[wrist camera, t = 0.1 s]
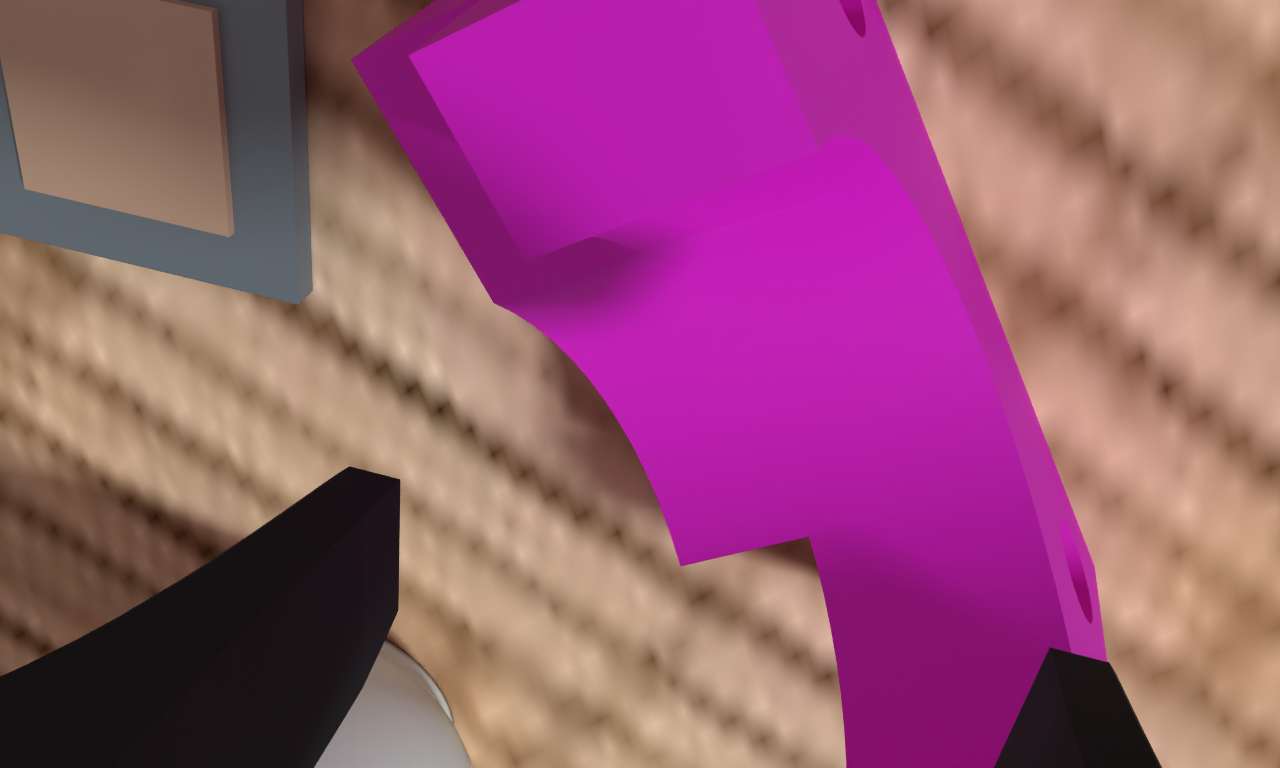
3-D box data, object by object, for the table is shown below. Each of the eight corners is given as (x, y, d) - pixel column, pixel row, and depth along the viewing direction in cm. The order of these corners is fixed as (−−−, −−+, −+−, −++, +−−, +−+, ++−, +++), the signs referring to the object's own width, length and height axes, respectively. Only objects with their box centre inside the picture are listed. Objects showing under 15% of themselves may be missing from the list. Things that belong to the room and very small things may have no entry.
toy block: (464, -21, 20) (242, 137, 14) (803, -194, 18) (714, -95, 11) (802, 618, 26) (751, 925, 20) (1093, 559, 24) (1137, 891, 17)
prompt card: (312, 290, 24) (294, 309, 23) (4, 216, 25) (-22, 233, 24) (299, -62, 20) (277, -52, 20) (-66, -136, 21) (-100, -128, 20)
